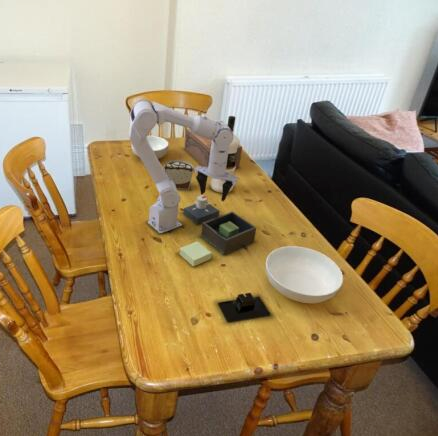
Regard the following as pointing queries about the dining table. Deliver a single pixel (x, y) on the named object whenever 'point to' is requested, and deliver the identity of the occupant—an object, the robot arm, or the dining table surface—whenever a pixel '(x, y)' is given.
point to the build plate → (243, 308)
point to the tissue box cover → (203, 148)
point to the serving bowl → (303, 274)
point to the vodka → (228, 159)
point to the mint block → (195, 253)
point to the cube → (228, 229)
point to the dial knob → (201, 202)
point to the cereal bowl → (155, 146)
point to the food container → (179, 173)
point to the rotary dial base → (201, 213)
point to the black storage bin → (232, 243)
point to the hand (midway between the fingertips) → (213, 196)
